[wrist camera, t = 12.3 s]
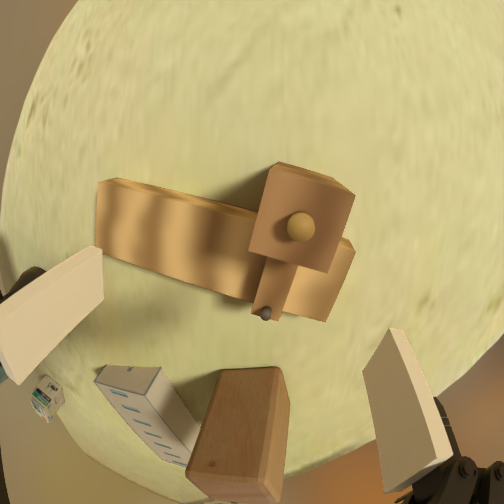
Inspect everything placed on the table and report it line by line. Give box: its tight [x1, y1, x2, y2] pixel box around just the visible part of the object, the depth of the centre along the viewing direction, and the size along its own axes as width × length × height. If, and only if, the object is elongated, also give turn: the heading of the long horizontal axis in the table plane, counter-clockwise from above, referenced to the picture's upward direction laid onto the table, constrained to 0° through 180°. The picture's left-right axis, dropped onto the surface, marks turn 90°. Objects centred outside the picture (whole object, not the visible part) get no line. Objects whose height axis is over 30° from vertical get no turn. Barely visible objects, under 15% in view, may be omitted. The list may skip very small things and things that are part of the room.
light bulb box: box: [28, 375, 65, 423], centre depth 54 cm, size 11×7×11 cm, turn 155°
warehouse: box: [94, 365, 200, 467], centre depth 46 cm, size 30×14×8 cm, turn 15°
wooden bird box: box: [248, 162, 356, 321], centre depth 25 cm, size 6×15×13 cm, turn 166°
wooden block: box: [185, 367, 290, 504], centre depth 32 cm, size 10×10×20 cm
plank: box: [95, 178, 356, 322], centre depth 31 cm, size 30×9×4 cm, turn 76°
